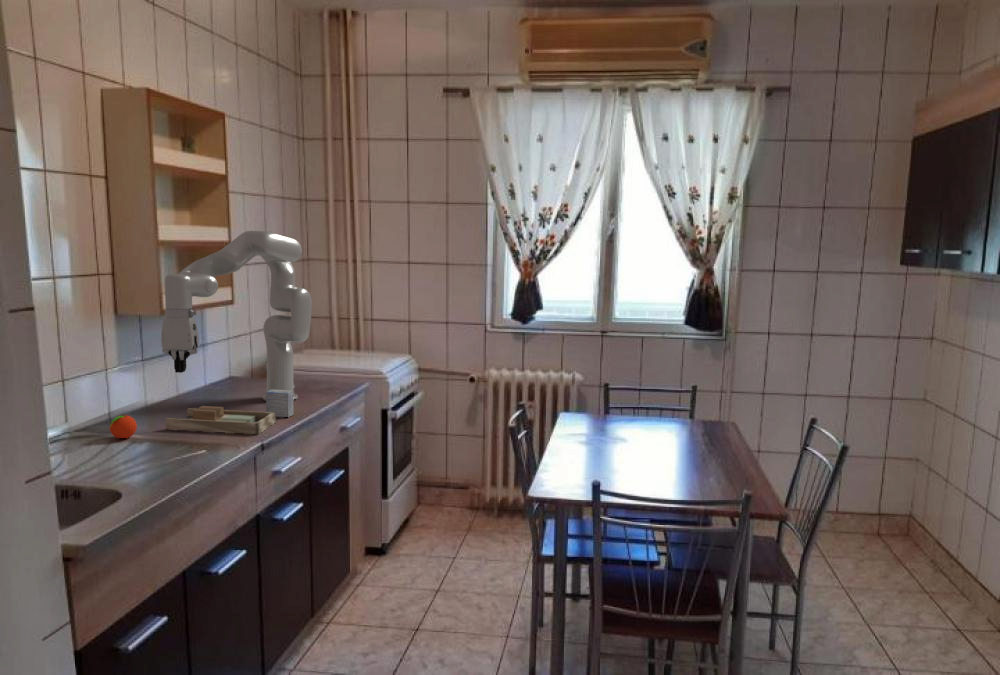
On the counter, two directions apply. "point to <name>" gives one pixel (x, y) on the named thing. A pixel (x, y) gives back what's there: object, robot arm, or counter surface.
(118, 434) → the clementine
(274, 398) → the medicine box
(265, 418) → the tray
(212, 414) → the walnut block
